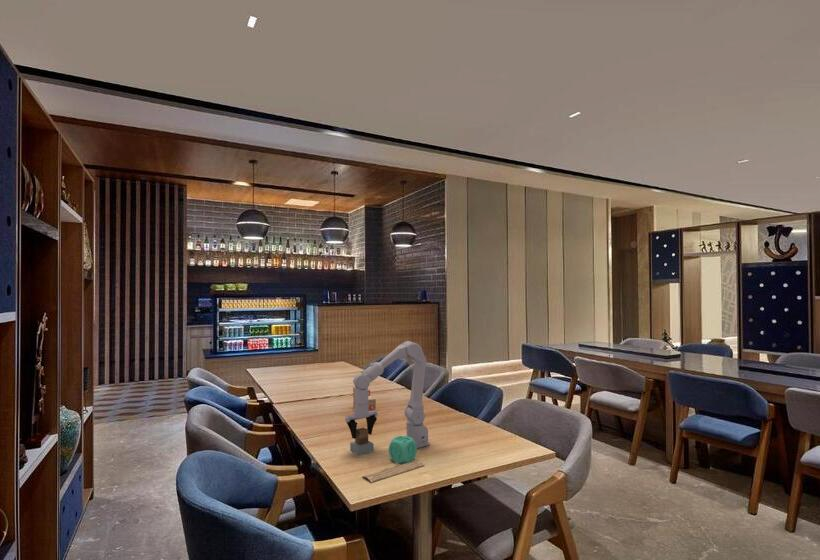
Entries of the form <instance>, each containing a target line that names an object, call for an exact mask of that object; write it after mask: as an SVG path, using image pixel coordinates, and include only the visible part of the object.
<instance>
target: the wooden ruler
mask: <svg viewBox="0 0 820 560" xmlns="http://www.w3.org/2000/svg"><path fill="white" fill-rule="evenodd" d="M423 467H425V464H424V463H423V462H422V461H421V460H417V459H415V460H414V459H413V460H412V461H411V462H408V463H403V464H402V463H400V464H398V465H395V466H392V467H388V468H386V469H383V470H379V471H376V472H373V473H368V474H365V475H363V476H361V478H363V479H365V478H367V479H368V480H369V481H370V484H373V483H376V482H379V481H382V480H386V479H388V478H389V479H390V478H392V477H396V476H399V475H401V474H404V473H408V472H410V471H413V470H416V469H420V468H423Z"/></svg>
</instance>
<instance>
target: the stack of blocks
mask: <svg viewBox="0 0 820 560" xmlns="http://www.w3.org/2000/svg"><path fill="white" fill-rule="evenodd" d="M352 392H353V393H352V395H353V396H352V397H353V399H352V400H353V409H354V410H355V386H354V387H352ZM376 401H377V399H376V398H375V397H374V396H372V395H371V390H370V389H369V388H368V411H374V410H375V411H377V409H376Z"/></svg>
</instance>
